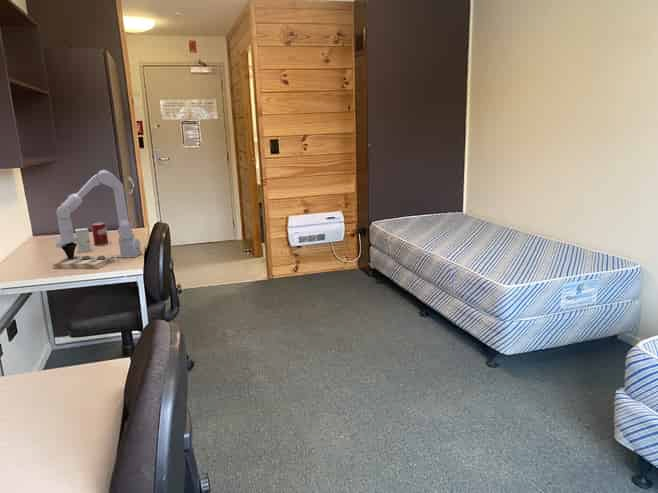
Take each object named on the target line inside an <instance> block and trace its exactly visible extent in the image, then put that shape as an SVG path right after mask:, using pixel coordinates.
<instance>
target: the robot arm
mask: <svg viewBox="0 0 658 493" xmlns="http://www.w3.org/2000/svg"><path fill="white" fill-rule="evenodd" d="M101 184H102V185H105V186H108V187H109V188H111V189H112V190H113V194H114V195H113V196H114V201H115V206H116V214H117V221H118V227H117V234H118V235H119V237H118V239H117V240H118V247H119V252H120V254H119V255H117V256H116V257H117V258H136V257H138V256H140V255H141V254H143V252H142V247H141V241H140V239H138V238H135V236H134V237H133V236H132V235H133V234H134V233H133V230H132V228H131V226H130V222H129V216H128V209H127V203H126V197H125V196H126V195H125V190H124V185H123V183H122V182H121V181H120V180H119V179H118V178H117V177H116V176H115V175H114V174H113V173H112V172H111V171H108V170H106V169H101V170H99V171H98V172H97V173H95V175H93V176H92V177H91V178H90V179H89V180H88V181H87V182H86V183H84V184H83V186H82V187H81V188H80V189H79V191H78V192H76V193H72V194H68V196H67V199H65V201H63V202H61V203H60V206H59V207H57V209H56V211H55V214H56V216H57V221H58V222H57V224H58V230H59V236H60V239H59V240H58V242H57V243H55V247H56V248H57V249H58V248H59V249H60V248H61V249H62V250H63V251H64V253H65V255H66V258H67V257H68V259H73V258H74V256H75V250H76V247H77V241H80V238H79V237H76V236H75V233H74V228H73V223H72V220H71V213H73V212H75V210H76V209H77V208H78V207H79V206H80V205H81V204H82V203H83V198H84V197H85V196H86V195H87V194H88V193H89V192H90V191H91V190H92V189H93V188H94V187H98V186H101Z"/></svg>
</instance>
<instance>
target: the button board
mask: <svg viewBox="0 0 658 493" xmlns="http://www.w3.org/2000/svg"><path fill="white" fill-rule="evenodd" d="M83 256H84V255H82V256H81V255H79V256H78V255H76V256H75V255H74V258H75V259H73V260H67V259H68V257H67V256H66V258H65V257H64V258H63V259H60V260H58V261H55V262H53V263H52V269H56V270H57V269H60V270H61V269H63V270H67V269H74V270H99V269H101V268H103V267H105V266H108V265H110V264H112V263H114V262H115V260H114V256H105V259H104V260H98V259H97V257H98V256H99V255H97V256H95V255H94V256H93V255H88V256H89V257H90V259H88V260H82V257H83Z"/></svg>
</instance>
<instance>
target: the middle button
mask: <svg viewBox="0 0 658 493" xmlns="http://www.w3.org/2000/svg"><path fill="white" fill-rule="evenodd" d="M82 256H83V257H82V260H88V259H90V257H89V256H90V255H82Z"/></svg>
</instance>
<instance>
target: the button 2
mask: <svg viewBox="0 0 658 493" xmlns="http://www.w3.org/2000/svg"><path fill="white" fill-rule="evenodd" d="M97 256H98V257H97V259H98V260H104V259H105V257H106V256H105V255H97Z"/></svg>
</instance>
